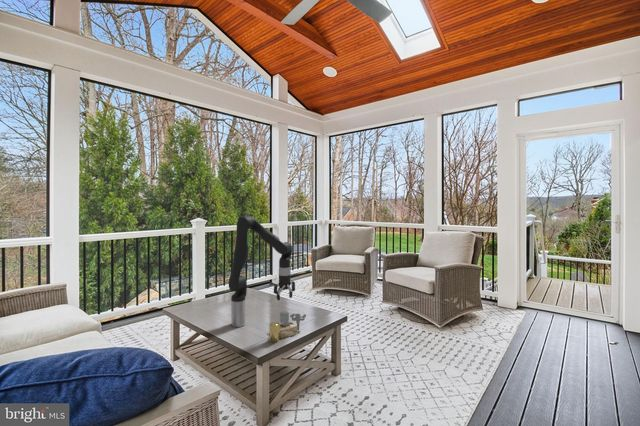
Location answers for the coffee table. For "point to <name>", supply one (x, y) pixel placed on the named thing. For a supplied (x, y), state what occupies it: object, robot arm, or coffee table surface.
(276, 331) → the round brass bit
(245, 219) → the robot arm
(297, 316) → the mechanical component
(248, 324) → the coffee table surface
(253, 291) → the coffee table surface
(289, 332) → the socket block
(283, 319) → the bar
